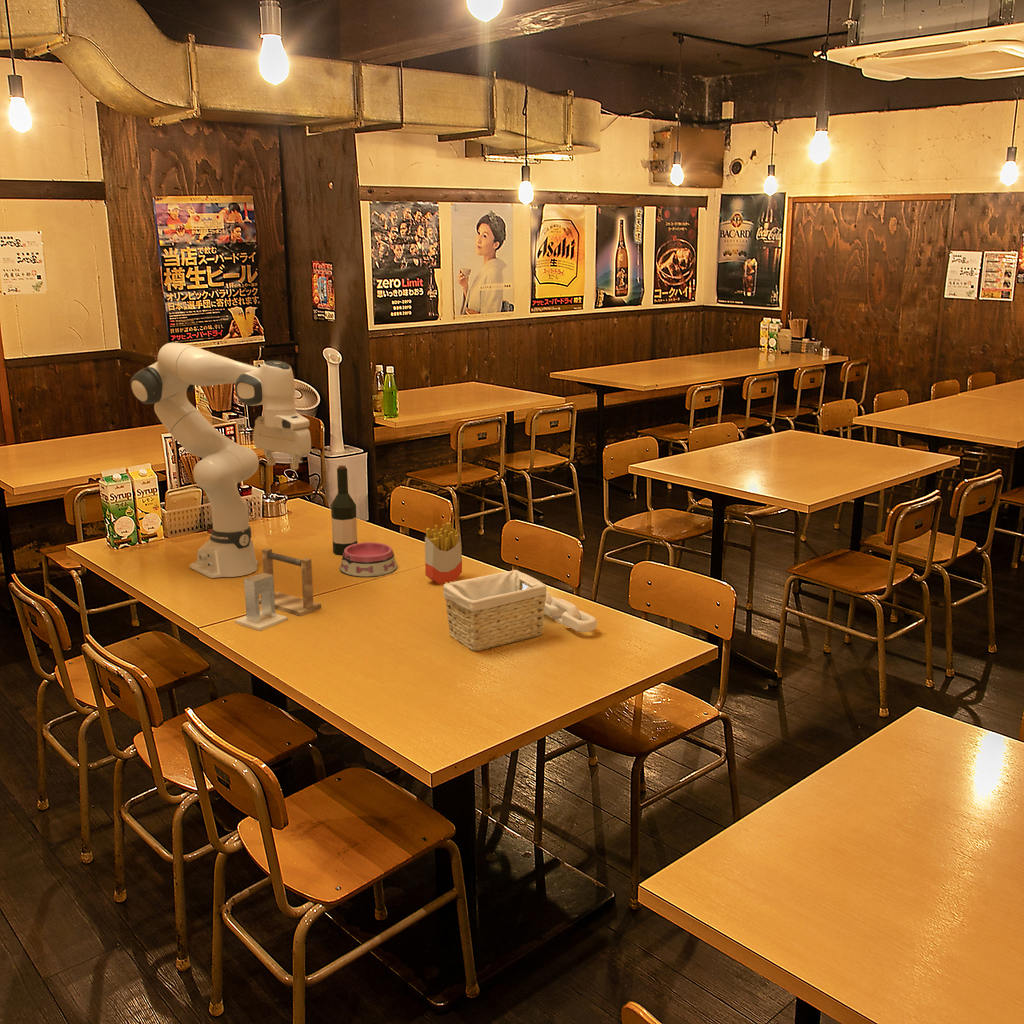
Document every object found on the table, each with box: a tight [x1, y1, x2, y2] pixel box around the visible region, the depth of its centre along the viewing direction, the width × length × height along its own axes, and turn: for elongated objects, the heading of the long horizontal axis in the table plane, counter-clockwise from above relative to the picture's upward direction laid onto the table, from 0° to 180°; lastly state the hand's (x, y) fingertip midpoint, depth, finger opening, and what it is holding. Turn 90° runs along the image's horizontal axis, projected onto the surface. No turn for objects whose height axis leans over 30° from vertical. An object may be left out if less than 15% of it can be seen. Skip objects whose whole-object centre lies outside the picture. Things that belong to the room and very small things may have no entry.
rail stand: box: [259, 547, 322, 617], centre depth 277 cm, size 18×8×16 cm, turn 56°
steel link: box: [243, 572, 276, 624], centre depth 265 cm, size 4×7×12 cm, turn 145°
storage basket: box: [442, 569, 547, 652], centre depth 256 cm, size 24×16×15 cm
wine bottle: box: [330, 465, 358, 557], centre depth 325 cm, size 8×8×30 cm
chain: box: [525, 586, 598, 633], centre depth 269 cm, size 30×6×6 cm, turn 33°
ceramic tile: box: [234, 609, 289, 632], centre depth 267 cm, size 10×10×1 cm
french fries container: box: [424, 521, 463, 585], centre depth 298 cm, size 5×11×18 cm, turn 127°
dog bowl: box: [339, 541, 398, 579], centre depth 312 cm, size 18×19×7 cm
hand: (282, 467), depth 277 cm, fingers open, 8 cm apart
